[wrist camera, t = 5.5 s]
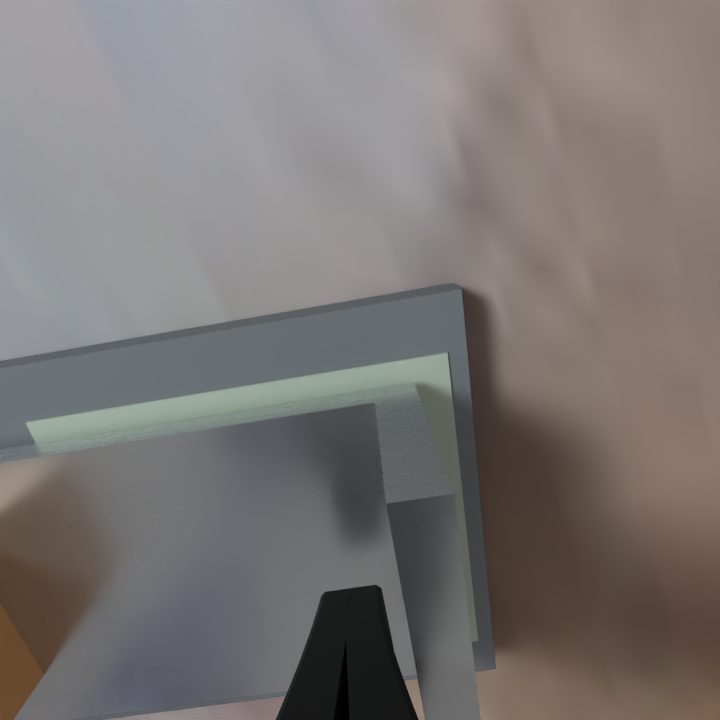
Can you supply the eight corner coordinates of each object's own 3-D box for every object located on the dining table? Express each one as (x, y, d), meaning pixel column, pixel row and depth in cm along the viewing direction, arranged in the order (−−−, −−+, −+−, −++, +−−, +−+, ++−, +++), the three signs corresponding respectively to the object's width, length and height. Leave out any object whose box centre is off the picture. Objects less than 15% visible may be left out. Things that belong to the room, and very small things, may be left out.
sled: (449, 642, 13) (494, 839, 9) (-111, 716, 14) (-311, 928, 10) (413, 382, 10) (455, 493, 6) (-293, 496, 11) (-692, 664, 7)
